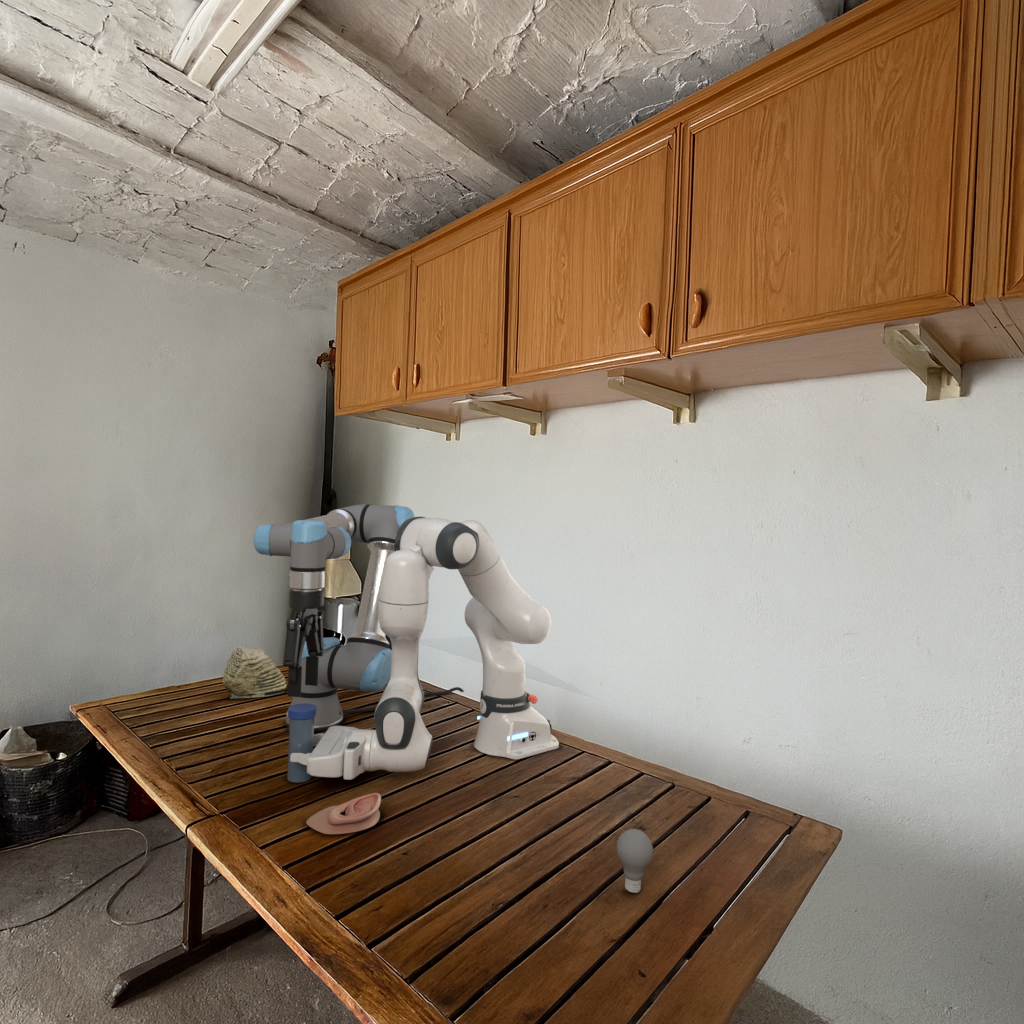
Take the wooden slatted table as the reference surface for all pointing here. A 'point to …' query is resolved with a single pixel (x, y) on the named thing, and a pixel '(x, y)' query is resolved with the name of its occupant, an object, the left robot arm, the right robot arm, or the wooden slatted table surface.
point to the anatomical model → (347, 816)
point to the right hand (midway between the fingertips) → (297, 747)
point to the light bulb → (634, 857)
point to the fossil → (252, 674)
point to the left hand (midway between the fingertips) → (303, 690)
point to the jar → (300, 747)
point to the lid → (302, 711)
